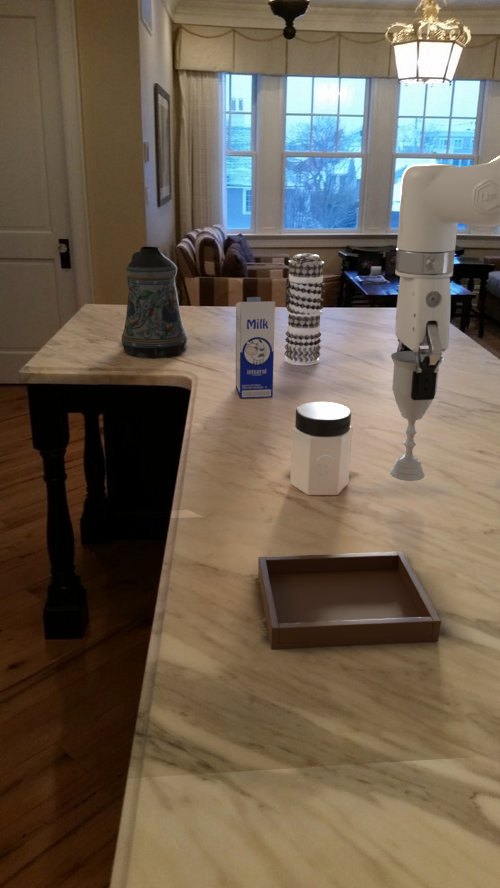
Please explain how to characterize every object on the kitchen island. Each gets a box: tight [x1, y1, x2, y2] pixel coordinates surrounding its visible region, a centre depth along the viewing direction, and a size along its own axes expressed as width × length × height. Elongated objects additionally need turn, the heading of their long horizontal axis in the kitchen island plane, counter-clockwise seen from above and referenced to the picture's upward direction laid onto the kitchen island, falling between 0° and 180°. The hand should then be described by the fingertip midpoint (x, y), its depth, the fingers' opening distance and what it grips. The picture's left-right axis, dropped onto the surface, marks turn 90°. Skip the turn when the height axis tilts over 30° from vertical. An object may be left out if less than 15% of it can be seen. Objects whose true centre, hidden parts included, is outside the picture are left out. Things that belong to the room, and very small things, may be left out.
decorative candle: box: [284, 253, 326, 366], centre depth 166 cm, size 9×9×25 cm
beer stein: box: [121, 246, 189, 359], centre depth 174 cm, size 16×19×25 cm
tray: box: [257, 551, 442, 650], centre depth 79 cm, size 18×14×3 cm
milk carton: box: [235, 296, 276, 400], centre depth 144 cm, size 7×7×20 cm
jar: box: [289, 401, 354, 496], centre depth 105 cm, size 9×8×12 cm
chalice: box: [389, 351, 444, 482], centre depth 102 cm, size 7×7×18 cm
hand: (414, 389), depth 101 cm, fingers closed on chalice, 6 cm apart
